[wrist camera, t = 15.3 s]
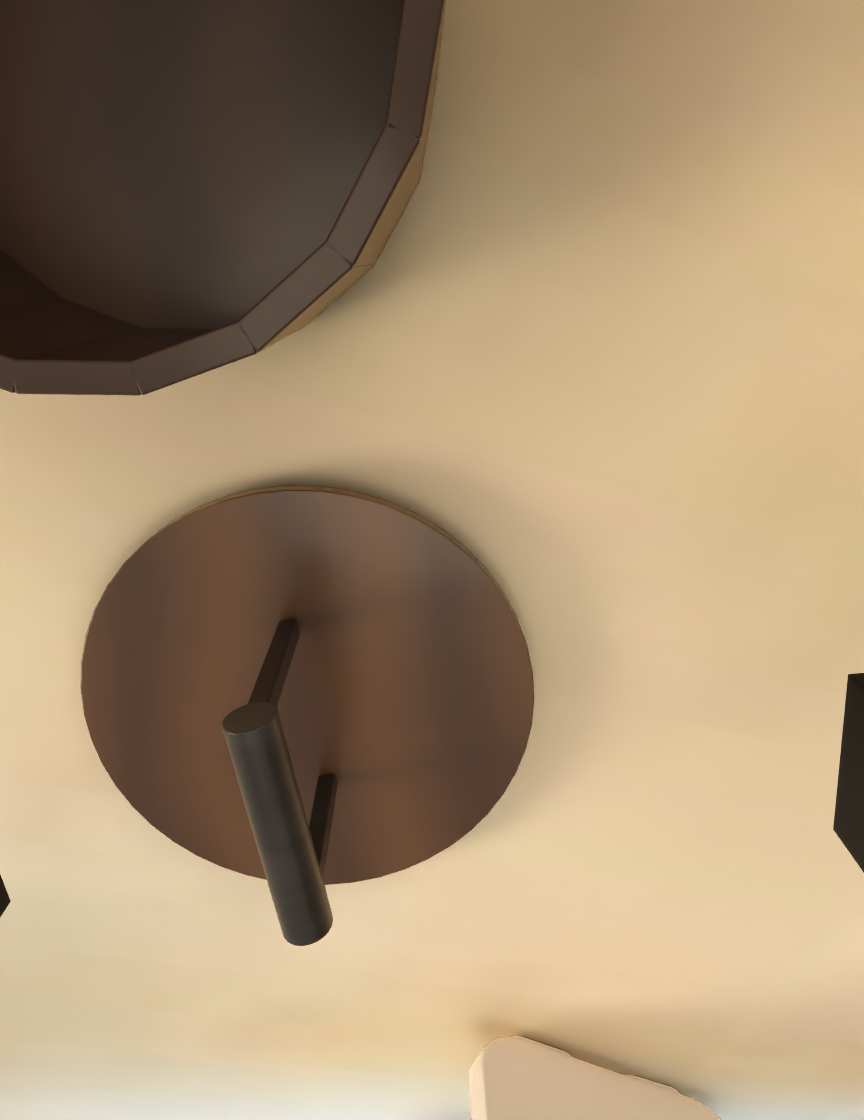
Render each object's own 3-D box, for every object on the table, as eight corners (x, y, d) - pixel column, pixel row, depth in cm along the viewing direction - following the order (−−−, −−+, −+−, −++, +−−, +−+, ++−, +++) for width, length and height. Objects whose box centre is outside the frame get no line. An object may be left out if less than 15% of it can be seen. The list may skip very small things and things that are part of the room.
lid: (500, 445, 29) (535, 522, 20) (551, 835, 35) (595, 1018, 26) (29, 521, 29) (-128, 626, 21) (162, 890, 35) (82, 1086, 27)
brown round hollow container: (378, -343, 21) (351, -786, 12) (469, 311, 27) (494, 336, 18) (-218, -222, 22) (-658, -558, 13) (-2, 390, 28) (-201, 452, 19)
